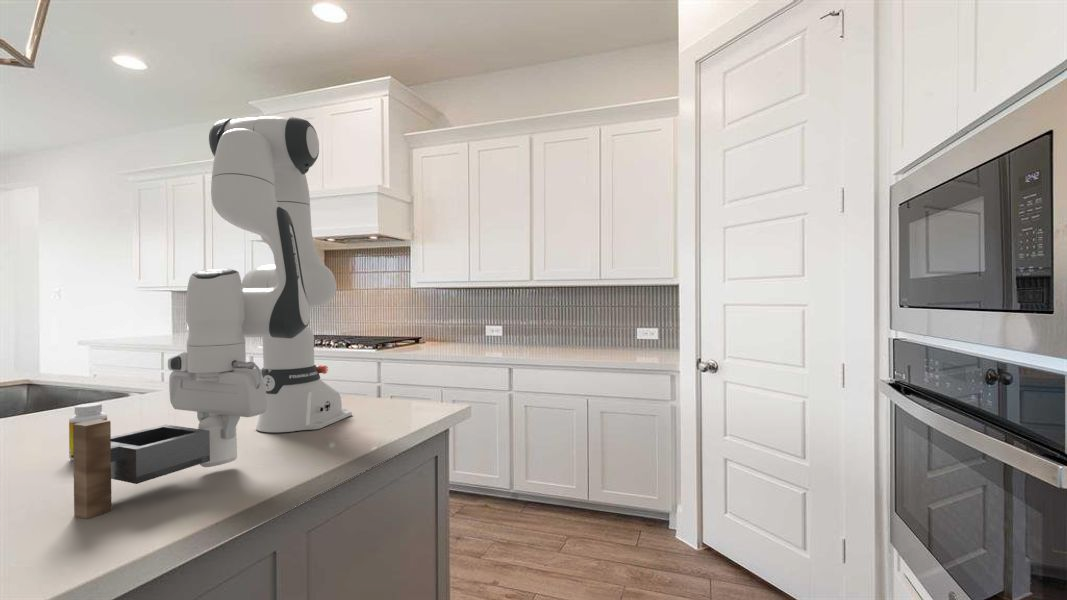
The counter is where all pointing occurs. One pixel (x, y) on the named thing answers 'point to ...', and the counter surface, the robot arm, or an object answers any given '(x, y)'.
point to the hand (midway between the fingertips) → (218, 437)
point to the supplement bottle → (84, 419)
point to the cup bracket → (128, 459)
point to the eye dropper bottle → (218, 441)
